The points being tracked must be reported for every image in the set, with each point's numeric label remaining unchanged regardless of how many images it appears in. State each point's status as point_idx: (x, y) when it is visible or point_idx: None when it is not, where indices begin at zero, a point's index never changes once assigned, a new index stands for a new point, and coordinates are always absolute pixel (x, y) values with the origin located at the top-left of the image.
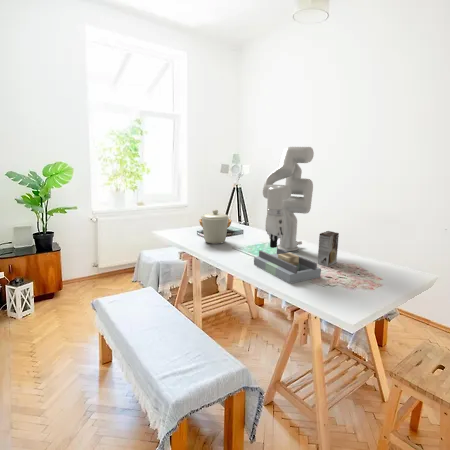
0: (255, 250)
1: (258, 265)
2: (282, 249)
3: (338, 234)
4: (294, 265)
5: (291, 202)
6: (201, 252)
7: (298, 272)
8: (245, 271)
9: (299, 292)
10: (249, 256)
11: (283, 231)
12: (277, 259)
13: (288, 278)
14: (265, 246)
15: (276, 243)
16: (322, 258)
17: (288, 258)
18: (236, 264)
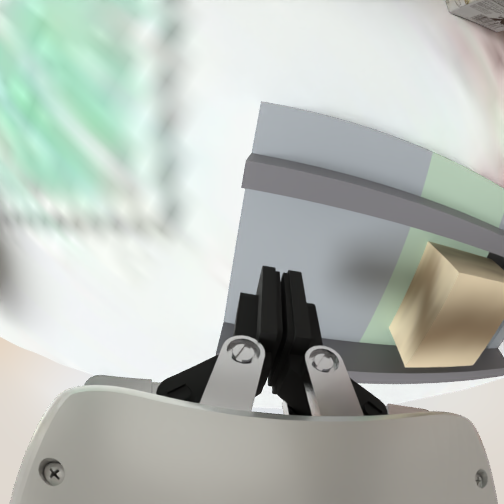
0: (24, 134)
1: None
2: (319, 176)
3: None
4: (500, 369)
5: None
6: (24, 343)
7: (501, 338)
8: (277, 395)
9: None
10: (90, 243)
11: (480, 470)
12: (417, 381)
13: None
14: (11, 41)
15: (317, 324)
16: (496, 15)
17: (476, 357)
18: (180, 370)
